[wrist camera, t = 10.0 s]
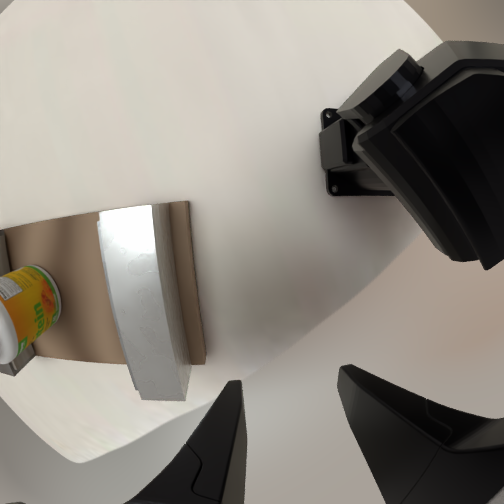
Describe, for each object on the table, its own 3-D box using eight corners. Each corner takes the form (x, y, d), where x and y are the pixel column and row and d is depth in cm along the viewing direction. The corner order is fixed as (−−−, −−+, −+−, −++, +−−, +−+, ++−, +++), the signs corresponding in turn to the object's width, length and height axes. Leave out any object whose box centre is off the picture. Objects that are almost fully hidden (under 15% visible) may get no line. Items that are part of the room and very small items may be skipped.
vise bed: (188, 200, 19) (171, 202, 13) (206, 354, 21) (201, 397, 16) (-4, 230, 17) (-42, 240, 12) (24, 345, 20) (-4, 371, 15)
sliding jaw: (168, 202, 17) (151, 204, 13) (191, 367, 19) (185, 401, 15) (120, 208, 17) (92, 212, 13) (149, 367, 19) (136, 399, 15)
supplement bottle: (60, 334, 18) (-3, 400, 9) (17, 308, 18) (-50, 356, 8) (66, 279, 18) (-17, 332, 8) (21, 253, 17) (-62, 287, 7)
